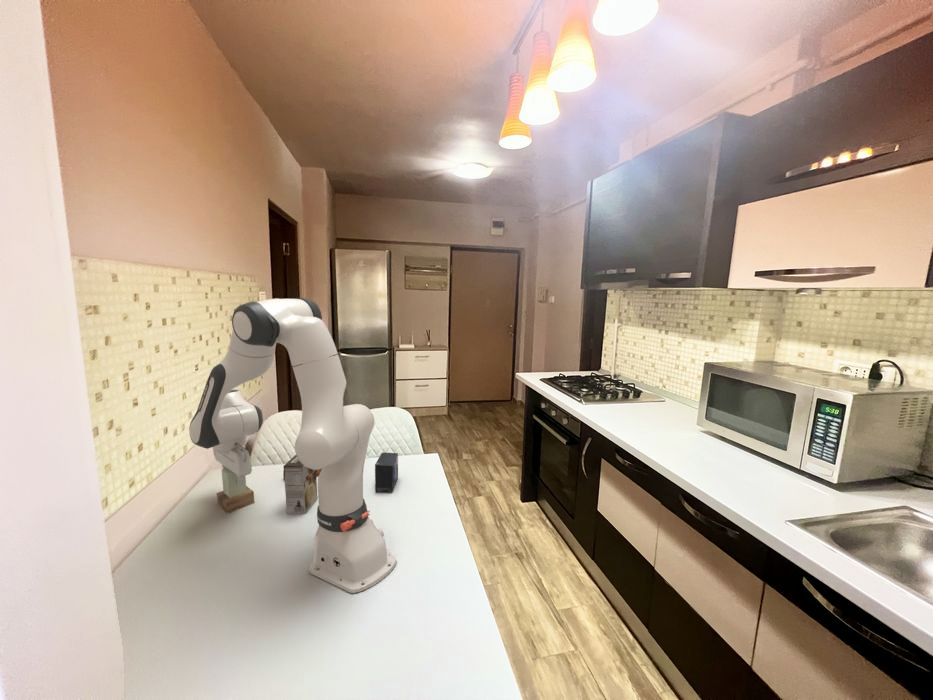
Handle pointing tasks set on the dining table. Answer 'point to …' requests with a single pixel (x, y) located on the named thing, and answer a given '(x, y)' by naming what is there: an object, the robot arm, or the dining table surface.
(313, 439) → the robot arm
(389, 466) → the small box
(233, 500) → the base block
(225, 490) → the sage block
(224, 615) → the dining table surface
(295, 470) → the coffee box
